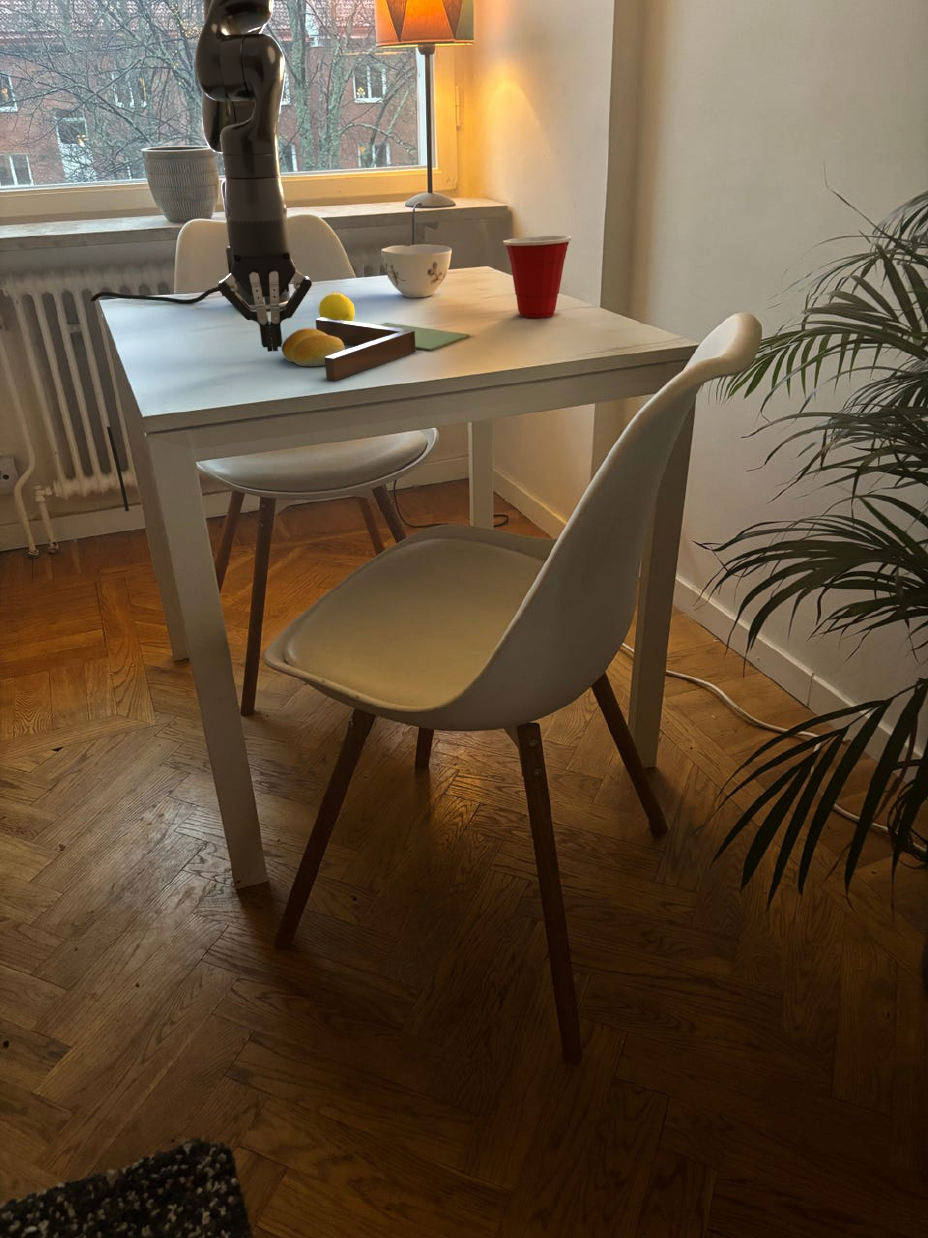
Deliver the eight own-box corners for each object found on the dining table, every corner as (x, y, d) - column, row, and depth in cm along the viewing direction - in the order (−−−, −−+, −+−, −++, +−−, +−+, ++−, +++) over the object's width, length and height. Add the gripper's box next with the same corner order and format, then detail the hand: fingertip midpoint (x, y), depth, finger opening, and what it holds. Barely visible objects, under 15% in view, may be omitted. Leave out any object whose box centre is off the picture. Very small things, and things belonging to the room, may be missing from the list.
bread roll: (307, 371, 126) (304, 341, 124) (274, 358, 132) (271, 329, 130) (358, 360, 130) (356, 330, 128) (324, 348, 136) (322, 320, 134)
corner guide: (239, 363, 130) (236, 341, 128) (323, 337, 142) (322, 317, 141) (334, 381, 121) (332, 358, 120) (415, 351, 134) (414, 330, 132)
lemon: (364, 329, 146) (362, 293, 144) (335, 335, 143) (332, 298, 141) (339, 322, 151) (336, 287, 148) (311, 327, 148) (307, 292, 145)
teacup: (467, 294, 169) (466, 247, 165) (413, 304, 162) (410, 255, 158) (414, 283, 179) (412, 238, 175) (361, 293, 172) (358, 246, 168)
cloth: (345, 337, 142) (345, 335, 142) (386, 324, 149) (386, 322, 149) (430, 350, 134) (430, 348, 134) (469, 336, 141) (469, 334, 141)
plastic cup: (542, 304, 160) (543, 229, 154) (582, 315, 152) (585, 236, 146) (489, 313, 155) (489, 235, 149) (528, 324, 147) (529, 243, 141)
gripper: (308, 210, 125) (319, 341, 134) (207, 213, 123) (225, 346, 132) (310, 216, 119) (322, 354, 127) (203, 220, 117) (222, 359, 125)
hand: (272, 350), depth 130 cm, fingers closed
